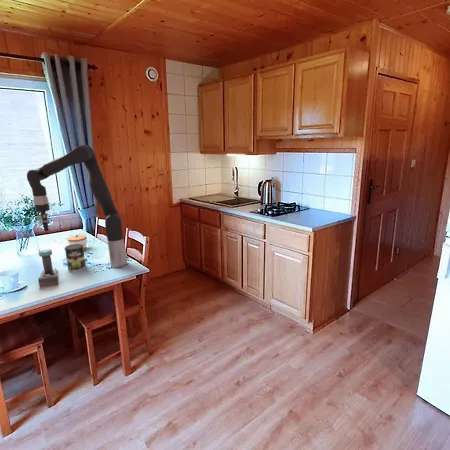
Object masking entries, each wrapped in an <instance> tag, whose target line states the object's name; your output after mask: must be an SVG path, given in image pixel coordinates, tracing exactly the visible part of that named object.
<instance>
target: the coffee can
mask: <svg viewBox="0 0 450 450" xmlns="http://www.w3.org/2000/svg"><path fill="white" fill-rule="evenodd" d="M84 249H85V248H84ZM84 249H83V245H82V244H73V245H69V244H68V245H67V246H65V247H64V251H65V257H66V263H67V270H68V271H69V272H77V271H82V270H84V269H86V267H87V264H86V257H85V250H84Z"/></svg>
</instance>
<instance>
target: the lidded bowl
mask: <svg viewBox="0 0 450 450" xmlns="http://www.w3.org/2000/svg"><path fill="white" fill-rule="evenodd" d="M87 238H88V237H87V235H86V234H75V235H72V236H69V237H68V238H67V242H68V243H67V244H68V246H69V245H73V244H82V245H83V249H85V248H86V247H87V243H88V239H87Z"/></svg>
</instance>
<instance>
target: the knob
mask: <svg viewBox="0 0 450 450" xmlns="http://www.w3.org/2000/svg"><path fill="white" fill-rule="evenodd" d="M51 255H53V251H52V249H50V248H49V249H48V248H47V249H46V248H45V249H43V250H39V251H38V256H39V257H41V260H42V266H43V270H44V276H45V275H47V274H50V275H54V270H55V269H53V263H52V256H51Z"/></svg>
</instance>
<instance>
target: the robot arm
mask: <svg viewBox="0 0 450 450" xmlns="http://www.w3.org/2000/svg"><path fill="white" fill-rule="evenodd" d="M82 163H83V165H84V167H85V169H86V172H87V177H88V186H89V188H90V189H89V190H91V193H92V195H93V197H94V199H95V200H96V201H97V204H99V206H100V208H101V209H102V212H103V214H104V215H103V216H104V218H105V221H104V224H105V225H104V227H105V233H106V237H107V244H108V245H107V246H108V247H107V248H108V254H109V263H110V267H112V268H116V269H117V268H124V266H126V265H127V264H128V256H127V250H126V249H125V243H124V240H125V239H124V233H123V226H122V225H123V224H122V217H121V215H120V213H119V212H118V210H117V208H116V205H115V204H114V200H113V198H112V195H111V192H110V189H109V186H108V185H107V182H106V180H105V178H104V176H103V174H102V171H101V169H100V167H99V164H98V160H97V156H96V153H95V151H94V149H93V148H92V146H90V145H88V144H81V145H78V146H75V148H74V149H72V150H71V151H69V152H68V153H66V154H64V155H63V156H61V157H58V158H55V159H54V160H51V161H49V162H47V163H44V164H43V165H42V166H40V167H38V168H32V169H29V170H28V171H27V173H26V179H27V181H28V184H29V187H30V188H31V191H32V196H33V200H32V201H33V204H34V209H35V212H36V213H39V218H40V221H41V223H42V227H43V231H44V232H49V219H48V213H46V212H49V211H51V210H50V209H51V208H50V203H49V198H48V195H47V194H48V193H47V188H46V186H45V185H44V184H42V181H43V180H46V179H47V178H49V177H51V176H53V175H55V174H57V173H59V172H62V171H64V170H66V169H67V168H69V167H71V166H74V165H77V164H82Z"/></svg>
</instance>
